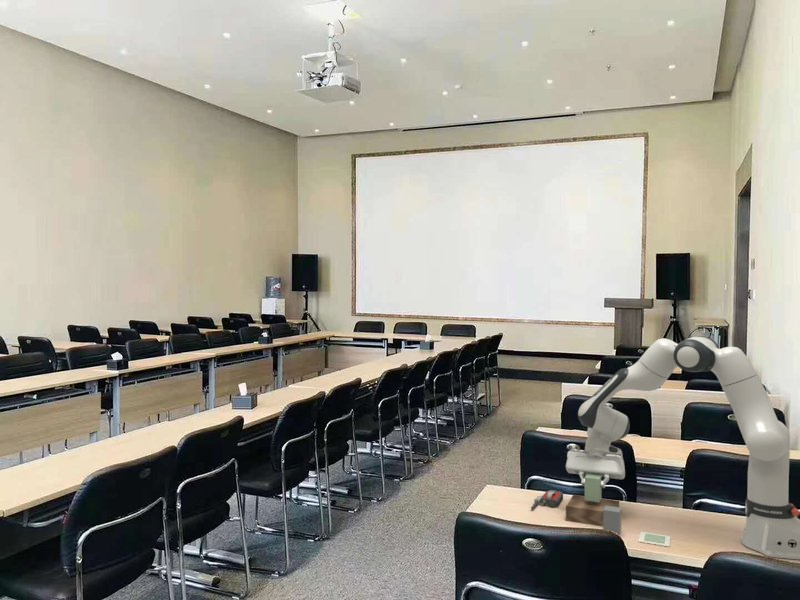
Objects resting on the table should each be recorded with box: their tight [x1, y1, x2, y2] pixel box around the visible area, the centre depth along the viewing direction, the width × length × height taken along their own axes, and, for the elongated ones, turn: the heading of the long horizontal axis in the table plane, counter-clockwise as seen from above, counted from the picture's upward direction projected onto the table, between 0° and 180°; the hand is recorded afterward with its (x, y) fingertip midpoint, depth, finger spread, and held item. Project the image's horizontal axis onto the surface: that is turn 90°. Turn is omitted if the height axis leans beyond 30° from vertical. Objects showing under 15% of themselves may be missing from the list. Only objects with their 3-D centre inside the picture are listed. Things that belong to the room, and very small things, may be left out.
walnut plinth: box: [565, 494, 620, 527], centre depth 221 cm, size 16×14×5 cm
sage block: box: [584, 474, 603, 502], centre depth 221 cm, size 5×5×8 cm
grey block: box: [602, 506, 622, 536], centre depth 207 cm, size 5×5×8 cm
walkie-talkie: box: [530, 489, 564, 510], centre depth 236 cm, size 9×4×20 cm
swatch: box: [638, 531, 672, 548], centre depth 202 cm, size 9×9×1 cm
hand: (592, 485), depth 221 cm, fingers closed on sage block, 5 cm apart
